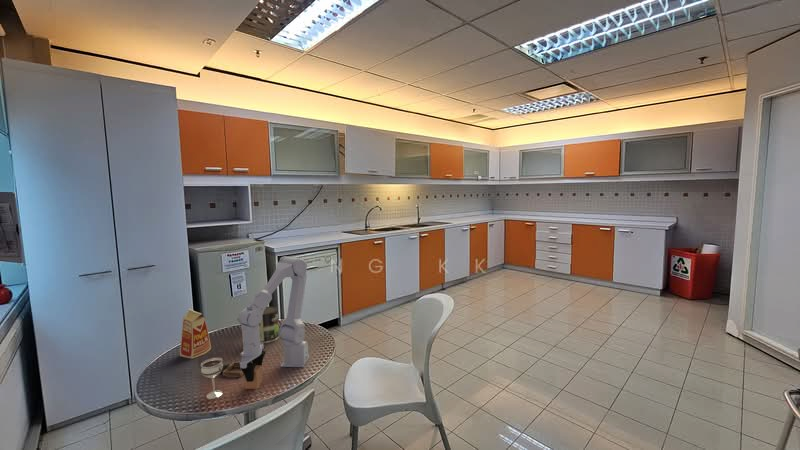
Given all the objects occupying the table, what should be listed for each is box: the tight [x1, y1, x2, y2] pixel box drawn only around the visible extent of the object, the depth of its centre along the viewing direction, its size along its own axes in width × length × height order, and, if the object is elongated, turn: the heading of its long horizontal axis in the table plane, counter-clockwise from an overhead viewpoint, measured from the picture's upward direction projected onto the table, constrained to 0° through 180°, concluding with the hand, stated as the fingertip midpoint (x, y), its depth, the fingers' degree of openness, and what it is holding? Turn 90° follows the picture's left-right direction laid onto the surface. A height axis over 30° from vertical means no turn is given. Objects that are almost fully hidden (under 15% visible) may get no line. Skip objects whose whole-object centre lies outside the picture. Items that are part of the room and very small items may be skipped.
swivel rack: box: [220, 361, 244, 377], centre depth 133 cm, size 7×15×3 cm, turn 85°
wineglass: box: [200, 357, 224, 400], centre depth 118 cm, size 7×7×12 cm
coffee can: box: [259, 306, 280, 344], centre depth 161 cm, size 10×10×14 cm
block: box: [243, 365, 263, 390], centre depth 124 cm, size 4×4×6 cm
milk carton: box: [179, 308, 212, 359], centre depth 148 cm, size 9×9×20 cm
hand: (253, 376), depth 124 cm, fingers open, 5 cm apart
